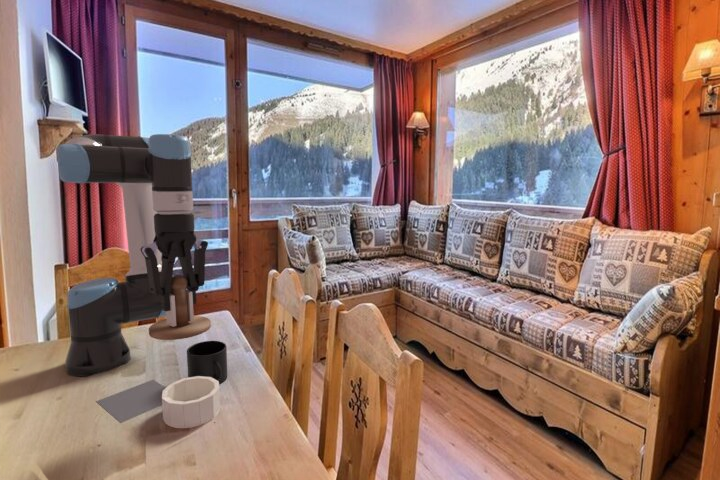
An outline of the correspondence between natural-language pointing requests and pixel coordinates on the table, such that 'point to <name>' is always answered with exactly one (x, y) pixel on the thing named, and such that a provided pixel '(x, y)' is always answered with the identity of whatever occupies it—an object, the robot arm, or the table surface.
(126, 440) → the table surface
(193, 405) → the bowl
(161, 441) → the table surface
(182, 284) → the lid
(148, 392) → the mat
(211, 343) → the mug
